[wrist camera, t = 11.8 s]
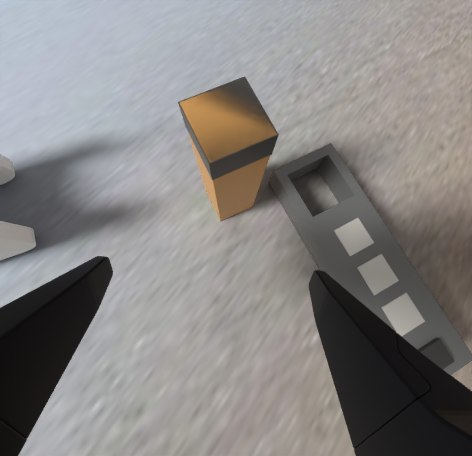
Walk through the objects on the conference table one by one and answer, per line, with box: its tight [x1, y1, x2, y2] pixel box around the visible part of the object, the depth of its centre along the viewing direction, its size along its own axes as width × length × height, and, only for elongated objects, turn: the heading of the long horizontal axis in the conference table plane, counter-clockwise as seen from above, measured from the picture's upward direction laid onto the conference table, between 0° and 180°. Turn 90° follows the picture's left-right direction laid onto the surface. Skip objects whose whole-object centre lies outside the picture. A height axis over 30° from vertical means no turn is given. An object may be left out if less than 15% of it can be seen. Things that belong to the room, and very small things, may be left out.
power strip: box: [269, 143, 472, 375], centre depth 22 cm, size 24×7×3 cm, turn 28°
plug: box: [178, 77, 279, 221], centre depth 18 cm, size 4×4×13 cm
